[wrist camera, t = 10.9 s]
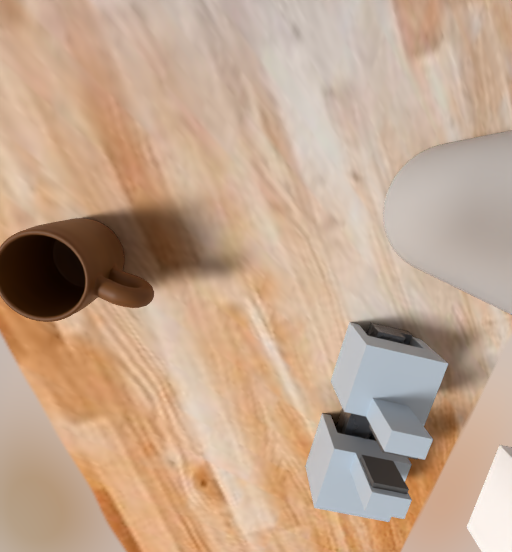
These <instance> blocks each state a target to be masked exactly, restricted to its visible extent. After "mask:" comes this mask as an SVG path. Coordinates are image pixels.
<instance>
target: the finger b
mask: <svg viewBox="0 0 512 552" xmlns="http://www.w3.org/2000/svg"><path fill="white" fill-rule="evenodd" d="M447 366H448V363H447V362H446V361H445V360H444V359H443V358H441V357H440V356H439V355H438V354H437V353H436V352H435V351H433V350H432V349H431V348H430V347H429V346H428V345H427V344H426V343H424V342H423V341H422V340H421V339H419V338H414V337H412V339H411V341H410V344H409V345H406V344H401V343H397V342H393V341H389V340H384V339H380V338H376V337H372V336H368V335H367V334H366V333H365V332H364V330H363V329H362V328H361V327H360V325H359V324H355V323H351V322H350V323H349V326H348V329H347V332H346V335H345V338H344V341H343V344H342V347H341V350H340V354H339V357H338V360H337V363H336V366H335V369H334V372H333V375H332V378H331V383H332V385H333V387H334V390H335V392H336V394H337V397H338V399H339V401H340V403H341V406H342V408H343V410H344V412H347V413H352V414H357V415H361V416H366V417H367V419H368V421H369V423H370V425H369V427H370V429H371V431H372V433H373V435H374V437H375V439H376V441H377V443H378V445H379V447H380V449H381V451H382V452H384V453H389V454H394V455H399V456H403V457H408V458H413V459H418V458H419V459H424V460H425V458H426V456H427V453H428V451H429V448H430V446H431V443H432V441H433V438H432V437H431V436H430V434H429V433H428V432H427V430H426V429H425V428H424V425H425V422H426V420H427V417H428V415H429V412H430V410H431V407H432V404H433V402H434V399H435V397H436V394H437V392H438V389H439V387H440V384H441V381H442V379H443V376H444V374H445V371H446V369H447Z"/></svg>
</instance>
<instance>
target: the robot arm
mask: <svg viewBox="0 0 512 552" xmlns="http://www.w3.org/2000/svg"><path fill="white" fill-rule="evenodd" d="M467 528H468V530H469V532H470V533H471V535H472V536H473V538H474V540H475V542H476V543H477V545H478V546H479V548H480V549H481V551H482V552H512V447H508V446H502V445H500V446H499V448H498V451H497V453H496V456H495V458H494V461H493V463H492V466H491V468H490V471H489V473H488V476H487V478H486V481H485V483H484V486H483V488H482V491H481V493H480V496H479V498H478V501H477V503H476V506H475V508H474V510H473V513H472V516H471V518H470V521H469V523H468V525H467Z"/></svg>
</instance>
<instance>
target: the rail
mask: <svg viewBox="0 0 512 552" xmlns="http://www.w3.org/2000/svg"><path fill="white" fill-rule="evenodd" d="M367 335H368V336H372V337H376V338H380V339H384V340H389V341H393V342H397V343H401V344H406V345H409V344H410V341H411V339H412V336H413V335H411V334H410V333H409V332H408V331H404V330H400V329H396V328H391V327H387V326H383V325H379V324H374V323H370V326H369V329H368V332H367ZM369 425H370V423H369V421H368V419H367V417H366V416H361V415H357V414H352V413H347V412H344V410H343V408H342V411H341V414H340V417H339V420H338V423H337V426H336V430H337V433H341V434H345V435H350V436H355V437H360V438H365V439H370V440H374V441H375V437H374V435H373V433H372V431H371V429H370V427H369Z"/></svg>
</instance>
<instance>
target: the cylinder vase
mask: <svg viewBox="0 0 512 552" xmlns="http://www.w3.org/2000/svg"><path fill="white" fill-rule="evenodd" d="M383 220H384V227H385V232H386V235H387V238H388V240H389V242H390V244H391V246H392V247H393V249H394V250H395V252H396V253H397V254H398V255H399V256H400V257H401V258H402V259H403V260H404V261H405V262H407V263H408V264H410V265H411V266H413V267H415V268H417V269H419V270H421V271H423V272H425V273H427V274H429V275H431V276H433V277H435V278H437V279H439V280H441V281H444V282H446V283H448V284H450V285H452V286H454V287H456V288H458V289H460V290H462V291H464V292H466V293H468V294H470V295H472V296H474V297H476V298H478V299H480V300H482V301H484V302H486V303H488V304H491V305H493V306H495V307H497V308H499V309H501V310H503V311H505V312H507V313H509V314H511V315H512V130H511V131H506V132H501V133H496V134H491V135H486V136H481V137H476V138H471V139H466V140H461V141H456V142H451V143H446V144H441V145H437V146H434V147H431V148H429V149H427V150H424V151H423V152H421V153H419V154H417V155H416V156H415V157H413V158H412V159H411V160H409V161H408V162H407V163H406V164H405V165H404V166H403V167H402V168H401V170H400V171H399V172H398V173H397V175H396V176H395V178H394V179H393V181H392V183H391V185H390V187H389V189H388V192H387V195H386V198H385V203H384V210H383Z"/></svg>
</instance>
